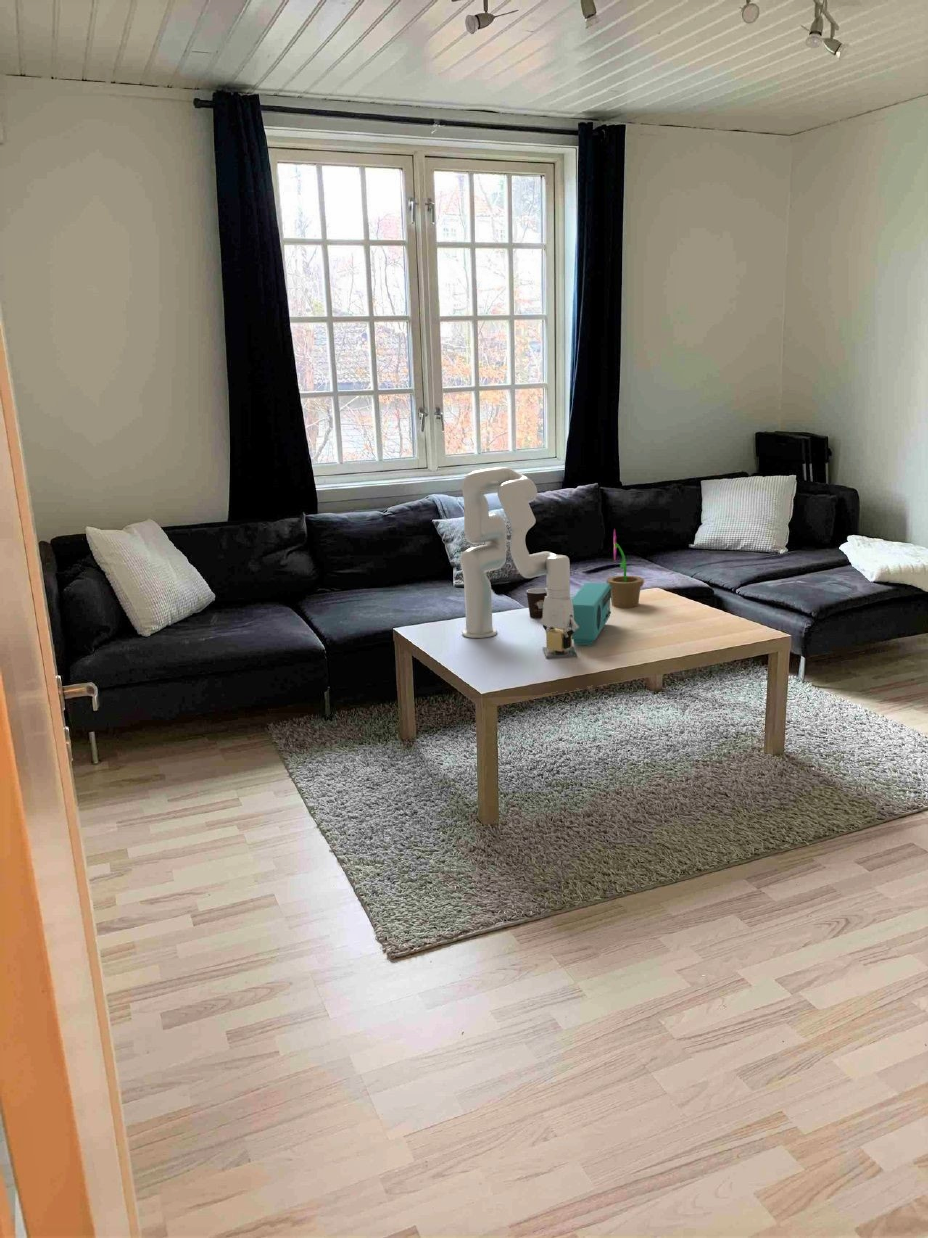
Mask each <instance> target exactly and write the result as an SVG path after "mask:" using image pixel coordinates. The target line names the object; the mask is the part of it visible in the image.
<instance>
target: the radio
mask: <svg viewBox="0 0 928 1238" xmlns="http://www.w3.org/2000/svg"><path fill="white" fill-rule="evenodd" d="M571 599H572V603H573V610H574V621H575V622H576V624H577V625H578V626H579V628H578V629H577V630H576V631H575V632H574V633H573V635H572V640H573V643H574V644H573V645H580V646H589V647H590V646H591V647H592V646H593V643H594V641H595V640H597V638H598V636H599V634H600V633H601V632H602V630H603V629H604V627H605V626H606V623H607V622H608V620H609V618H610V616H611V613H612V611H611V587H610V584H609V583H607V582H585V583H584V584H583V585H582V586H581V587H580V589H579V590H578V591H577V593H576V594H575V595H574V596H573V597H572V598H571ZM571 629H572V627H571Z"/></svg>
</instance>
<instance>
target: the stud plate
mask: <svg viewBox="0 0 928 1238" xmlns="http://www.w3.org/2000/svg"><path fill="white" fill-rule="evenodd" d="M542 652H543V654H544V657H545V659H546V660H550V659H569V658H571V659H573V658H578V654H577V652H576V650H575V648H574V646H573V645H572V648H569V649H567V650H564V651H562V652H560V651H555V650H551V649H547V646H543V647H542Z"/></svg>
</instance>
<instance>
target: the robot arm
mask: <svg viewBox="0 0 928 1238" xmlns="http://www.w3.org/2000/svg"><path fill="white" fill-rule="evenodd" d="M461 488H462V489H461V491H462V497H463V505H464V506H463V507H464V510H463V511H464V512H463V514H464V515H463V517H464V525H463V526H464V527H463V528H464V536H465V540H466V541H467V542H468V543H470V544H473V545H475V544H476V545H477V544H482V545H478V546H474V547H473V546H472V547H469V548H468V549H465V550H464V551H463V552H462V553H461V555H460V559H459V560H460V562H459V563H460V567H461V573H462V576H463V586H464V587H463V589H464V604H465V605H464V606H465V607H464V610H465V628H464V629H462V630H461V633H462V636H463V637H466V638H470V639H471V638H472V639H484V638H489V637H490V638H491V637H493V636H495V635H497V633H498V629H497V628H495V627H494V626H493V607H492V605H493V604H492V586H491V585H492V584H491V581H490V579H489V577H488V576H487V573H488V572H492V571H496V570H500V569H502V568H503V567H504V565H505V563H506V559H507V540H508V539H507V537H508V536H507V535H508V533H507V524H506V522H505V519H504V518H503V516H501V515H499V514H498V513H492V512H491V513H489V509H490V508H489V507H490V506H489V502H488V499H487V498H486V496H485V495H489V494H497V498H498V500H499V502H500V505H501V507H502V509H503V512H504V515H505V516H506V519H507V521H508V523H509V525H510V528H511V534H510V535H511V536H510V540H509V541H510V542H509V552H510V555H511V559H512V562H513V564H514V566H515V568H516V570H517V571H518V573H519V574H520V576H522V577H523V578H525V579H533V578H536V577H541V576H544V575H545V576H546V587H545V592H547V596H545V599H544V604H543V617H542V618H540V620H539V623H540V624H541V626H542V628H543V629H544V630H545V632H546V631H548V630H551V629H554V628H557V629H563V632H564V635H565V637H564V649H567V648H569V647H571V636H572V635H573V633H574V632H575V631H576V630H577V629H578V628H579V626H578V625H577V624H576V622H575V621H574V610H573V603H572V599H573V598H572V597H571V579H570V578H571V577H570V576H571V575H570V573H571V572H570V571H571V570H570V569H571V568H570V566H571V564H570V558H569V557H568V556H567V555H563V554H556V553H553V552H551V551H541V552H536V553H532V554H530V552H529V550H528V548H527V545H526V535H527V533H528V531H530V529H531V528H532V527H533V526H534V525H535V524H536V517H535V515H534V513H533V511H532V508H531V505H530V503H532V502H534V501H535V500H536V499H537V496H538V490H537V489H538V488H537V486H536V484H535V483H534V481H533V480H532V479H530V478H529V477H528V476H527V475H524V474H522V473H521V472H518V471H516V470H514V469H512V468H511V467H507V466H499V467H497V466H496V467H492V468H491V467H490V468H482V469H476V470H473V471H472V472H470V473H468V474H467V475H466V476H465V477H464V479H463V481H462V487H461ZM484 543H485V544H484ZM571 627H572V629H571ZM567 630H568V632H567Z"/></svg>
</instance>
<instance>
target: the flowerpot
mask: <svg viewBox="0 0 928 1238" xmlns="http://www.w3.org/2000/svg"><path fill="white" fill-rule="evenodd" d="M616 533H617V532H616V529H615V528H614V529H613V539H612V540H613V542H612V543H613V560H614V562H616V561H617V549H618V550H619V552H620V555H621V558H622V561H621V564H620V565H619V567H620V568H621V569H623V575H615V576H611V577H608V578H607V579H606V583H609V584H610V587H611V598H610V603H611V606H612V607H615V608H619V609H632V608H636V607H638V606H639V602H640V594H641V587H643V586H644V583H645V579H644V578H643V577H641V576H636V575H627V562H626V556H625V554H624V551H623V549H622V548H621V546H620V545H619V544H618V542H617V535H616Z"/></svg>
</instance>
